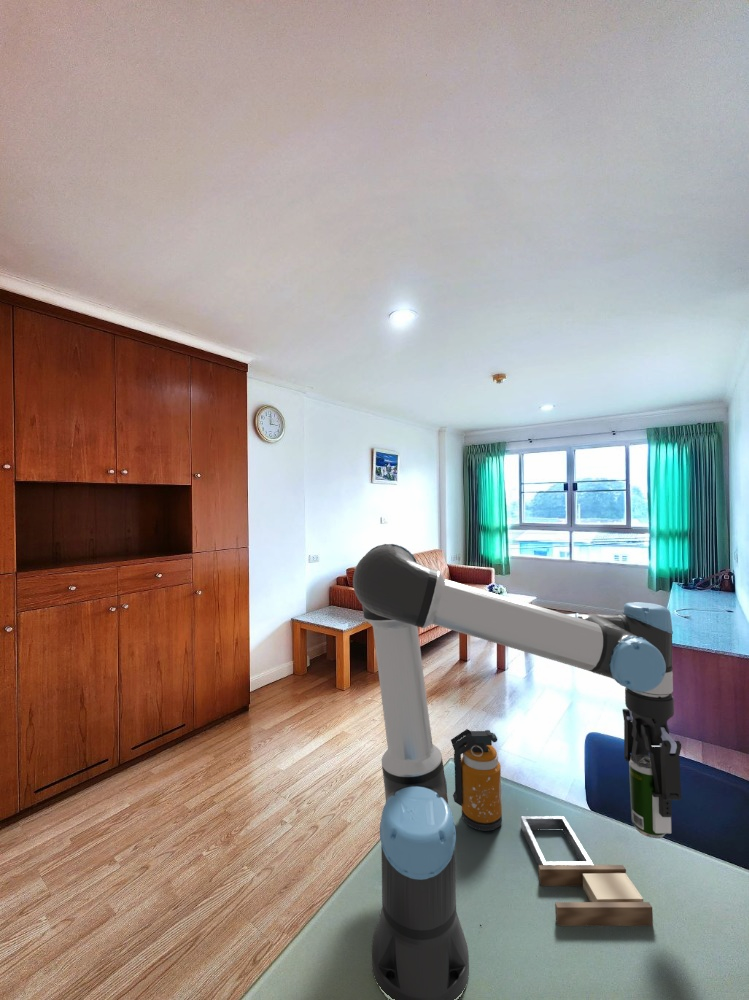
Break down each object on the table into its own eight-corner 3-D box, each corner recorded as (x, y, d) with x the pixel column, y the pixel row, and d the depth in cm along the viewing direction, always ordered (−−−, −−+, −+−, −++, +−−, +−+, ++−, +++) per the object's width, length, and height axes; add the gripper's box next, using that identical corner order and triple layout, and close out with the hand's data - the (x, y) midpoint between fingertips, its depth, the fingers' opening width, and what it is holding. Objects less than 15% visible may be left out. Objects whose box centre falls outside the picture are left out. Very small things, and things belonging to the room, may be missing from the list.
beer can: (655, 843, 75) (652, 772, 75) (625, 824, 80) (622, 757, 80) (673, 832, 77) (669, 764, 78) (643, 814, 82) (639, 750, 83)
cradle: (594, 878, 83) (593, 864, 83) (543, 878, 84) (543, 864, 84) (564, 827, 97) (564, 816, 97) (521, 827, 97) (520, 816, 97)
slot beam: (558, 925, 74) (557, 907, 74) (538, 881, 83) (538, 865, 83) (652, 925, 74) (652, 907, 74) (623, 881, 83) (622, 864, 83)
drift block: (597, 917, 76) (597, 899, 76) (583, 890, 81) (582, 873, 81) (644, 916, 76) (643, 898, 76) (626, 889, 81) (625, 873, 81)
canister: (507, 833, 95) (504, 740, 96) (456, 834, 96) (454, 741, 96) (496, 806, 104) (493, 721, 105) (450, 806, 105) (448, 722, 105)
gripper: (706, 712, 70) (710, 860, 69) (639, 671, 89) (642, 788, 88) (660, 711, 70) (663, 859, 70) (602, 671, 89) (604, 787, 88)
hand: (651, 819), depth 79 cm, fingers closed on beer can, 5 cm apart
